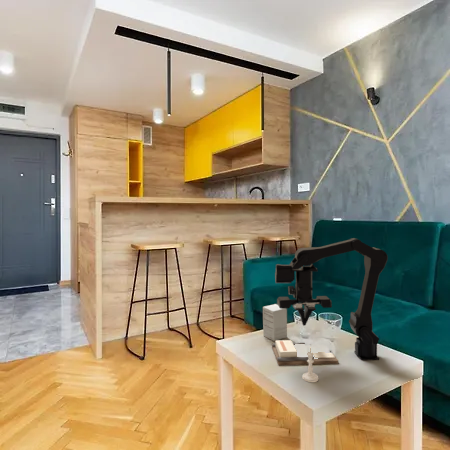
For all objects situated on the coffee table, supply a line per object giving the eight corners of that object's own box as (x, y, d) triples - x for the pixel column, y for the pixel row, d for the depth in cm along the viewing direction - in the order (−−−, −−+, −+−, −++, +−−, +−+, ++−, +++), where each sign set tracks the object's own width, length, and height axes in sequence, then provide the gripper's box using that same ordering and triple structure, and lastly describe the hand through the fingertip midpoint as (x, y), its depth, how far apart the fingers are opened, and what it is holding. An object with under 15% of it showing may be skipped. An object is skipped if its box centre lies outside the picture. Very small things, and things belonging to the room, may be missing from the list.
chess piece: (318, 375, 107) (317, 345, 107) (318, 383, 103) (318, 351, 102) (302, 373, 108) (302, 343, 108) (302, 381, 104) (302, 350, 103)
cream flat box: (291, 346, 127) (291, 339, 126) (297, 358, 117) (297, 351, 116) (275, 346, 127) (275, 340, 126) (280, 358, 117) (280, 351, 116)
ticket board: (325, 346, 129) (325, 341, 129) (338, 363, 115) (338, 357, 115) (272, 347, 129) (271, 342, 128) (278, 365, 115) (278, 359, 115)
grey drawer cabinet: (276, 331, 145) (275, 303, 144) (287, 337, 138) (287, 307, 138) (262, 335, 141) (262, 306, 140) (273, 341, 135) (273, 311, 134)
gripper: (322, 277, 128) (322, 317, 129) (274, 278, 128) (275, 318, 129) (332, 284, 117) (332, 327, 118) (279, 285, 117) (280, 328, 118)
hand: (304, 325), depth 121 cm, fingers closed
